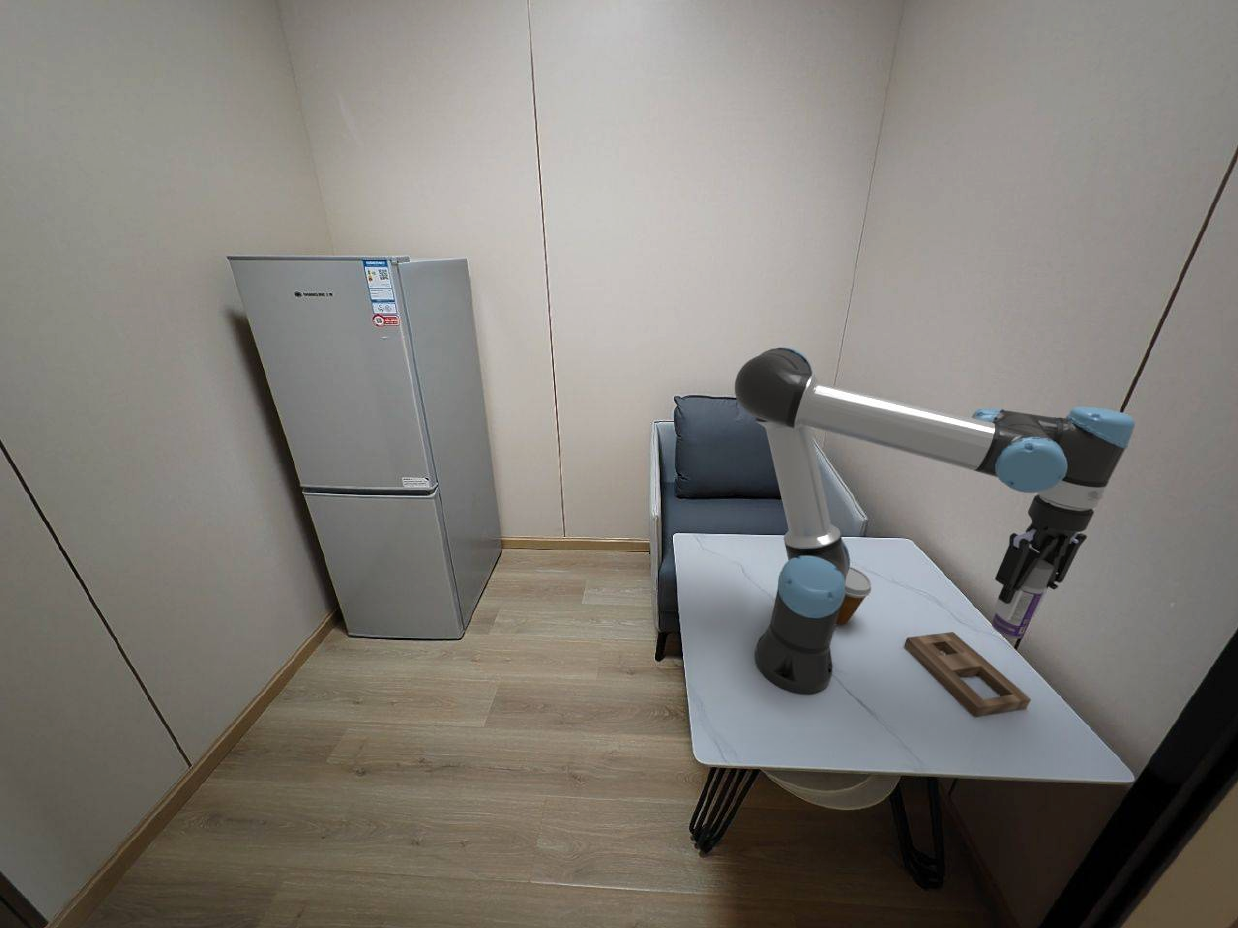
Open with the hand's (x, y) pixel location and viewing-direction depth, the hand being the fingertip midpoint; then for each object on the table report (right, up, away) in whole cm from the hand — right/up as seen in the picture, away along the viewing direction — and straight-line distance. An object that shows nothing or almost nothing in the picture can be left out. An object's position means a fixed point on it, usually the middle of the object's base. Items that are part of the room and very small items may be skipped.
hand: (1013, 613), depth 86 cm
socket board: (-2, -16, +11) cm, 20 cm away
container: (0, -4, +1) cm, 4 cm away
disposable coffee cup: (-21, -9, +26) cm, 35 cm away
